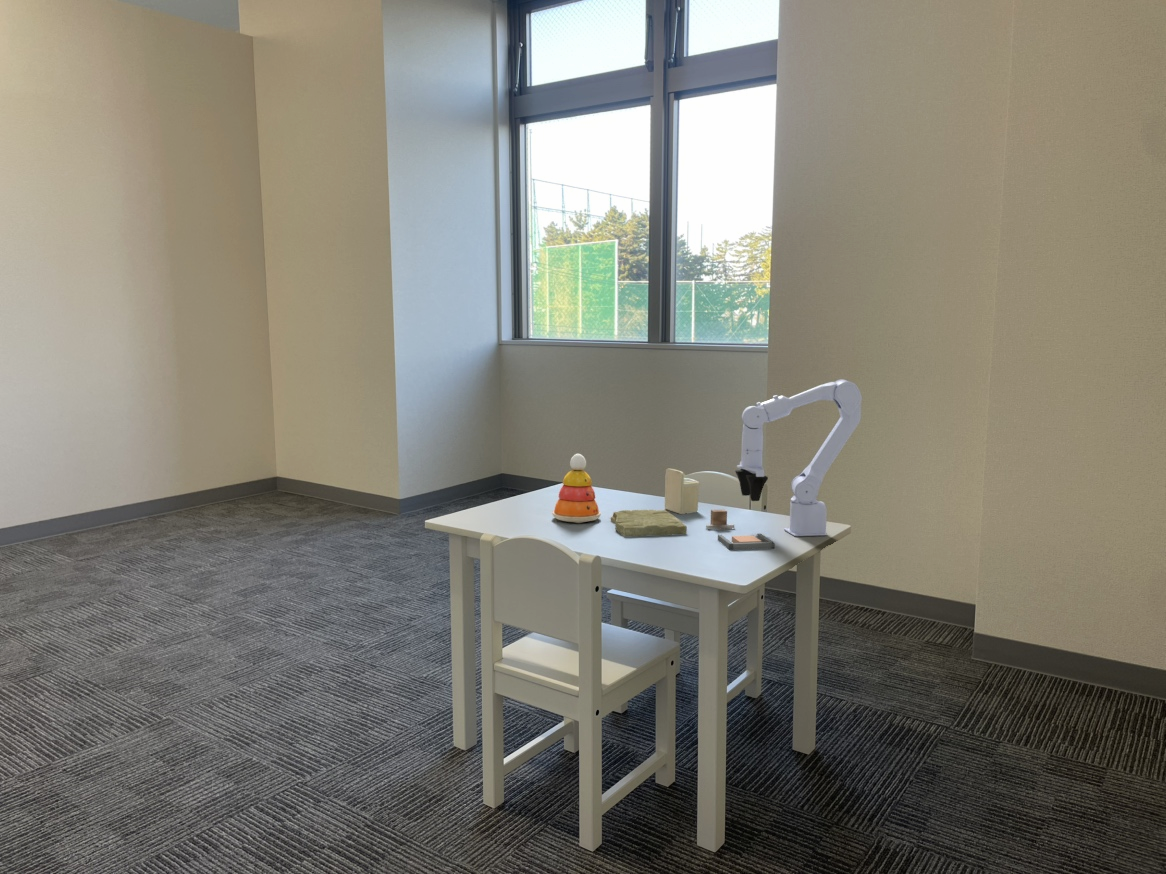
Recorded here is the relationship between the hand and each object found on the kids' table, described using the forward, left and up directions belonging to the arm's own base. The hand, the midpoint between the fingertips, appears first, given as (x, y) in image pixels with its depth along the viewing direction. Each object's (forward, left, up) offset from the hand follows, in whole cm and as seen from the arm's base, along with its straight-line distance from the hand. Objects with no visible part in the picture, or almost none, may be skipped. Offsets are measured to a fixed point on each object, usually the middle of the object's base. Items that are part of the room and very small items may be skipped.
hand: (750, 498), depth 241 cm
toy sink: (+12, -28, -10) cm, 32 cm away
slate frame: (+6, +14, -9) cm, 18 cm away
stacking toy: (+46, -20, -10) cm, 51 cm away
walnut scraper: (+7, -5, -10) cm, 13 cm away
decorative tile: (+28, -8, -10) cm, 31 cm away
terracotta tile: (+6, +14, -10) cm, 18 cm away
